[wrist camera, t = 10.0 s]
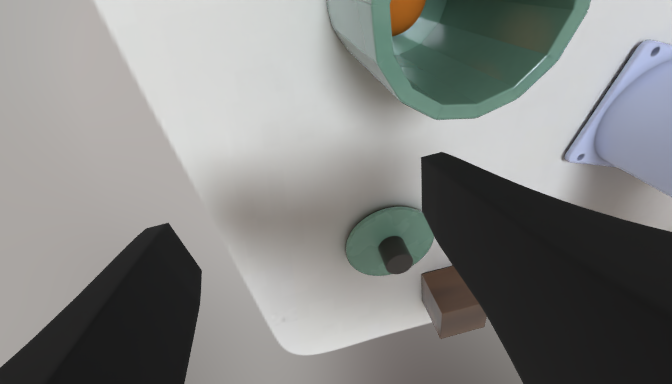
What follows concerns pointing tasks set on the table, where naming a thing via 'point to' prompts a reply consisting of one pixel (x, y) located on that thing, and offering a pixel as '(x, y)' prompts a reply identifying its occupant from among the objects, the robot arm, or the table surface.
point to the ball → (404, 14)
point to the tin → (459, 49)
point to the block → (450, 303)
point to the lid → (389, 241)
